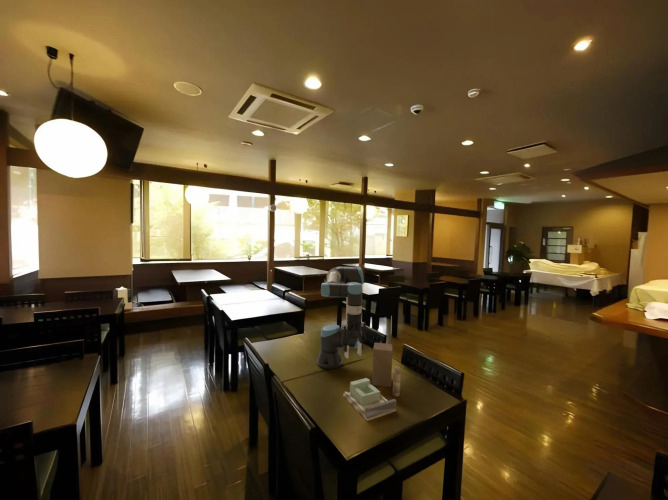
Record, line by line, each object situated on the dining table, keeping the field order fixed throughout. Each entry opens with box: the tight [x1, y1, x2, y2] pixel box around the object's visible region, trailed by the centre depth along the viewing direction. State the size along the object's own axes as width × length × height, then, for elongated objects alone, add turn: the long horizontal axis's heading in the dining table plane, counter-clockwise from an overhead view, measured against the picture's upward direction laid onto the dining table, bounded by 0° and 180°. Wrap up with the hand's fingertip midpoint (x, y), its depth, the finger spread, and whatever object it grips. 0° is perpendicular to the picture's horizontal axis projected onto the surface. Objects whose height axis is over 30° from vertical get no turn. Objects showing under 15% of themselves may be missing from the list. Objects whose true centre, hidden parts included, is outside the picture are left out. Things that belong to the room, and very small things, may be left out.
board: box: [342, 391, 397, 422], centre depth 134 cm, size 21×16×5 cm
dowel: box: [392, 365, 402, 398], centre depth 142 cm, size 4×4×14 cm
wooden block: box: [371, 342, 393, 388], centre depth 154 cm, size 10×10×20 cm
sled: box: [349, 377, 381, 406], centre depth 137 cm, size 11×10×6 cm
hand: (353, 356), depth 146 cm, fingers open, 7 cm apart
